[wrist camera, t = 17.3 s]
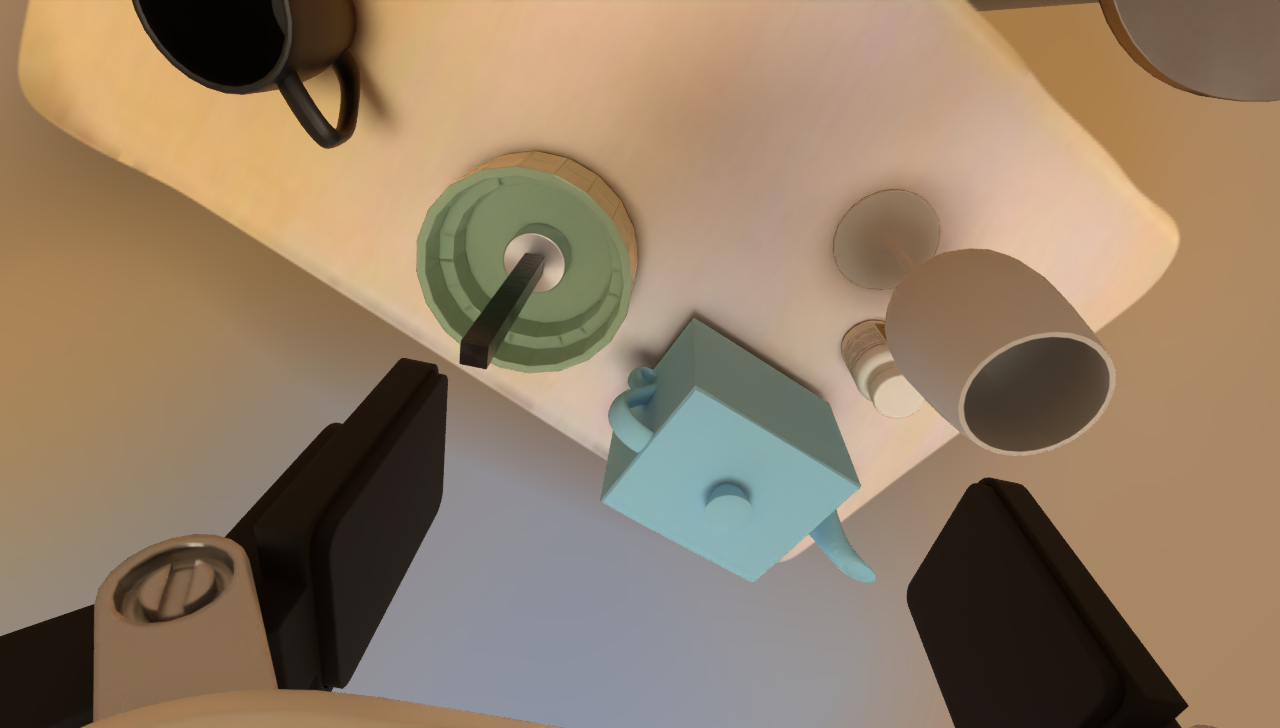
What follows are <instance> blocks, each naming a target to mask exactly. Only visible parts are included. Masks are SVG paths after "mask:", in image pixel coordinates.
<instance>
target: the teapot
mask: <svg viewBox="0 0 1280 728" xmlns="http://www.w3.org/2000/svg"><path fill="white" fill-rule="evenodd" d="M628 384H629V386H630V387H631V388H632V389H630V390H627V391H625V392H623V393H622V394H620V395H619V396H618V397H617V398H616V399H615V400H614V401H613V403H612V405H611V407H610V409H609V414H608V418H609V423H610V425H611V427H612V429H613V434H612V439H611V444H610V450H609V455H608V461H607V466H606V472H605V477H604V483H603V489H602V494H601V499H600V501H601V502H603V503H604V504H606V505H607V506H609V507H611V508H613V509H615V510H617V511H618V512H620V513H622V514H624V515H626V516H627V517H629V518H631V519H633V520H635V521H637V522H638V523H640V524H642V525H644V526H646V527H648V528H650V529H652V530H653V531H655V532H657V533H659V534H661V535H663V536H665V537H666V538H668V539H670V540H672V541H674V542H676V543H678V544H679V545H681V546H684V547H685V548H687V549H689V550H691V551H693V552H695V553H696V554H698V555H700V556H702V557H704V558H706V559H708V560H710V561H712V562H714V563H715V564H717V565H719V566H722V567H723V568H725V569H727V570H729V571H731V572H733V573H735V574H737V575H739V576H740V577H742V578H744V579H747V580H748V581H751V582H753V583H754V582H755V581H756V580H757V579H758V578H759V577H760V576H761V575H763V574H764V573H765V572H766V571H767V570H768V569H769V568H770V567H772V566H773V565H774V564H775V563H776V562H777V561H779V560H780V559H781V558H782V557H783V556H784V555H785V554H786V553H788V552H789V551H790V550H791V549H792V548H793V547H794V546H795V545H797V544H798V543H799V542H800V541H801V540H802V539H803V538H805V537H806V536H807V535H808V534H809V535H810V536H811V537H812V538H813V539H814V541H815V542H816V543H817V544H818V545H819V547H820V548H821V549H822V550H823V552H824V553H825V554H826V555H827V556H828V557H829V558H830V560H831V561H832V562H833V563H834V564H835V565H836V566H837V567H838V568H839V569H840V570H841V571H842V572H844V573H845V574H846V575H848V576H849V577H851V578H853V579H855V580H858V581H860V582H864V583H871V582H873V581H875V579H876V576H875V573H874V572H873V570H872V569H871V568H870V567H869V566H868V565H867V564H866V563H865V562H864V561H863V560H862V559H861V558H860V557H859V556H858V555H857V553H856V552H855V550H854V549H853V548H852V546H851V545H850V543H849V541H848V539H847V537H846V536H845V533H844V531H843V528H842V526H841V523H840V520H839V517H838V514H837V511H836V509H837V508H838V507H839V506H840V505H841V504H842V503H843V502H844V501H845V500H846V499H848V498H849V497H850V496H851V495H852V494H853V493H854V492H856V491H857V490H858V489H859V488H860V487H861V484H860V482H859V479H858V477H857V474H856V471H855V469H854V466H853V464H852V461H851V459H850V456H849V453H848V451H847V448H846V446H845V443H844V440H843V438H842V435H841V433H840V430H839V427H838V425H837V422H836V420H835V417H834V415H833V412H832V409H831V407H830V404H829V403H828V402H826V401H825V400H823V399H821V398H820V397H818V396H817V395H815V394H814V393H812V392H810V391H809V390H807V389H806V388H804V387H803V386H801V385H799V384H798V383H796V382H795V381H793V380H792V379H790V378H788V377H787V376H785V375H784V374H782V373H781V372H779V371H777V370H776V369H774V368H773V367H771V366H770V365H768V364H766V363H765V362H763V361H762V360H760V359H759V358H757V357H755V356H754V355H752V354H751V353H749V352H748V351H746V350H744V349H743V348H741V347H740V346H738V345H736V344H735V343H733V342H732V341H730V340H729V339H727V338H725V337H724V336H722V335H721V334H719V333H717V332H716V331H714V330H713V329H711V328H710V327H708V326H706V325H705V324H703V323H702V322H700V321H698V320H697V319H695V318H693V319H692V320H691V322H690V323H689V324H688V325H687V327H686V328H685V329H684V331H683V332H682V333H681V334H680V336H679V337H678V338H677V340H676V341H675V342H674V344H673V345H672V346H671V347H670V349H669V350H668V351H667V353H666V354H665V355H664V357H663V358H662V359H661V360H660V362H659V363H658V364H657V366H656V367H655V368H654V369H651V368H648V367H645V366H642V367H638V368H636V369H635V370H634V371H632V372H631V373H630V375H629V378H628Z"/></svg>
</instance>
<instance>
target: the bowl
mask: <svg viewBox="0 0 1280 728" xmlns="http://www.w3.org/2000/svg"><path fill="white" fill-rule="evenodd" d="M536 223H539V224H546V225H549V226H552V227H554V228H555V229H557V230H558V231H559V232H560V233H562V234H563V236H564V237H565V238H566V240H567V242H568V244H569V247H570V251H571V260H570V264H569V267H568V269H567V271H566V273H565V275H564V277H563V278H562V280H561V282H560V283H559V284H558V285H557V286H556V287H555V288H553V289H551V290H549V291H547V292H542V293H534V292H532V293H531V295H530V297H529V298H528V300H527V302H526V304H525V305H524V307H523V309H522V310H521V312H520V314H519V315H518V317H517V319H516V320H515V322H514V324H513V325H512V327H511V329H510V330H509V332H508V334H507V335H506V337H505V339H504V340H503V342H502V344H501V345H500V347H499V349H498V350H497V352H496V354H495V355H494V357H493V359H492V361H491V362H490V363H492V364H494V365H496V366H498V367H501V368H506V369H511V370H515V371H520V372H525V373H539V372H553V371H561V370H564V369H566V368H569V367H571V366H574V365H577V364H579V363H582V362H584V361H587V360H589V359H590V358H591V357H593V356H594V355H595V354H596V353H597V352H599V351H600V350H601V349H602V348H604V347H605V346H606V345H607V344H608V343H610V341H611V340H612V339H613V337H614V335H615V334H616V332H617V330H618V329H619V327H620V326H621V324H622V322H623V321H624V319H625V317H626V315H627V311H628V306H629V301H630V296H631V292H632V287H633V282H634V277H635V272H636V268H637V263H638V254H637V246H636V238H635V230H634V227H633V225H632V223H631V221H630V219H629V217H628V215H627V213H626V210H625V208H624V206H623V204H622V202H621V201H620V199H619V198H618V197H617V195H616V194H615V193H614V192H613V191H612V190H611V189H610V188H609V187H608V186H607V185H606V183H605V182H604V181H603V180H602V179H601V178H600V177H599V176H598V175H597V174H595V173H593V172H591V171H590V170H588V169H586V168H585V167H583V166H581V165H579V164H578V163H576V162H574V161H572V160H571V159H568V158H565V157H561V156H556V155H552V154H547V153H542V152H538V151H531V152H523V153H514V154H505V155H502V156H500V157H498V158H496V159H494V160H492V161H490V162H488V163H486V164H484V165H482V166H480V167H478V168H476V169H475V170H473V171H472V172H470V173H468V174H467V175H465V176H464V177H462V178H461V179H459V180H458V181H456V182H454V183H453V184H451V185H450V186H449V187H448V188H447V189H446V190H445V192H444V193H443V194H442V195H441V196H440V197H439V198H438V199H437V200H436V202H435V203H434V204H433V205H432V206H431V207H430V208H429V210H428V212H427V215H426V217H425V220H424V222H423V225H422V228H421V230H420V233H419V236H418V238H417V269H416V271H417V275H418V278H419V282H420V285H421V288H422V291H423V295H424V298H425V301H426V303H427V305H428V307H429V308H430V310H431V311H432V313H433V314H434V316H435V317H436V319H437V320H438V322H439V323H440V325H441V326H442V328H443V329H444V330H445V332H447V333H448V334H449V335H450V336H451V337H452V338H453V339H455V340H456V341H457V342H458V343H459V344H460V345H461V339H462V338H463V337H464V335H465V334H466V333H467V331H468V330H469V329H470V327H471V326H472V325H473V323H474V322H475V320H476V319H477V318H478V316H479V315H480V314H481V312H482V311H483V310H484V308H485V307H486V305H487V304H488V303H489V301H490V300H491V299H492V297H493V296H494V295H495V293H496V292H497V291H498V289H499V288H500V286H501V285H502V284H503V282H504V281H505V280H506V278H507V277H508V275H507V273H506V271H505V268H504V263H503V255H504V251H505V248H506V246H507V245H508V243H509V242H510V241H511V240H512V238H513V237H514V236H515V235H516V234H517V233H518V231H519V230H521V229H522V228H523V227H525V226H527V225H530V224H536Z"/></svg>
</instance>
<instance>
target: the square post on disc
mask: <svg viewBox="0 0 1280 728" xmlns="http://www.w3.org/2000/svg"><path fill="white" fill-rule="evenodd" d="M570 260H571V251H570V247H569V244H568V242H567V240H566V238H565V237H564V236H563V234H562V233H560V232H559V231H558V230H557V229H555V228H554V227H552V226H549V225H546V224H539V223H536V224H530V225H527V226H525V227H523V228H522V229H521V230H519V231H518V233H517V234H516V235H515V236H514V237H513V238H512V240H511V241H510V242H509V243H508V245H507V246H506V248H505V251H504V255H503V263H504V268H505V271H506V273H507V275H508V277H507V278H506V280H505V281H504V282H503V284H502V285H501V286H500V288H499V289H498V291H497V292H496V293H495V295H494V296H493V297H492V299H491V300H490V301H489V303H488V304H487V305H486V307H485V308H484V310H483V311H482V312H481V314H480V315H479V316H478V318H477V319H476V320H475V322H474V323H473V325H472V326H471V327H470V329H469V330H468V331H467V333H466V334H465V335H464V337H463V338H462V339H461V345H460V364H463V365H468V366H472V367H477V368H482V369H487V367H488V366H489V364H490V362H491V361H492V359H493V357H494V355H495V354H496V352H497V350H498V349H499V347H500V345H501V344H502V342H503V340H504V339H505V337H506V335H507V334H508V332H509V330H510V329H511V327H512V325H513V324H514V322H515V320H516V319H517V317H518V315H519V314H520V312H521V310H522V309H523V307H524V305H525V304H526V302H527V300H528V298H529V297H530V295H531V293H532V292H534V293H542V292H547V291H549V290H551V289H553V288H555V287H556V286H557V285H558V284H559V283H560V282H561V280H562V278H563V277H564V275H565V273H566V271H567V269H568V267H569V264H570Z"/></svg>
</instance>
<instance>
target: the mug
mask: <svg viewBox="0 0 1280 728" xmlns="http://www.w3.org/2000/svg"><path fill="white" fill-rule="evenodd" d="M132 2H133V5H134V9H135V11H136V13H137V15H138V17H139V19H140V22H141V24H142V26H143V28H144V30H145V31H146V33H147V34H148V36H149V37H150V39H151V40H152V42H153V43H154V44H155V46H156V47H157V49H158V50H159V51H160V52H161V53H162V54H163V55H164V56H165V57H166V58H167V60H168V61H169V62H170V63H171V64H172V65H173V66H175V67H176V68H177V69H178V70H180V71H181V72H182V73H183V74H185V75H186V76H187V77H189V78H190V79H192V80H194V81H196V82H198V83H200V84H201V85H203V86H205V87H207V88H210V89H213V90H216V91H220V92H223V93H227V94H240V95H245V94H252V93H259V92H266V91H272V90H278V89H279V90H280V92H281V94H282V95H283V97H284V99H285V100H286V102H287V104H288V105H289V107H290V108H291V110H292V112H293V113H294V115H295V116H296V118H297V119H298V121H299V122H300V124H301V125H302V126H303V128H304V129H305V130H306V132H307V133H308V134H309V135H310V136H311V137H312V139H313V140H314V141H315V142H316V143H318V144H319V145H320V146H321V147H323V148H326V149H330V148H334V147H337V146H339V145H341V144H343V143H344V142H346V141H347V140H348V139H349V138H351V136H352V135H353V132H354V130H355V127H356V123H357V117H358V108H359V98H360V73H359V69H358V66H357V63H356V61H355V59H354V57H353V56H352V54H351V53H350V51H349V50H348V48H349V47H350V45H351V43H352V42H353V39H354V36H355V32H356V13H355V7H354V4H353V1H352V0H132ZM330 65H331V66H332V68H333V69H334V71H335V73H336V75H337V77H338V80H339V84H340V90H341V103H340V112H339V119H338V124H337V128H336V129H334V128H333V127H332V126H331V125H330V124H329V123H328V121H327V120H326V119H325V118H324V116H323V115H322V113H321V112H320V111H319V109H318V108H317V106H316V105H315V103H314V102H313V100H312V98H311V97H310V95H309V94H308V92H307V90H306V89H305V87H304V85H303V83H302V82H304V81H306V80H308V79H310V78H312V77H314V76H316V75H318V74H319V73H321V72H323V71H324V70H325V69H327V68H328V67H329V66H330Z"/></svg>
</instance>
